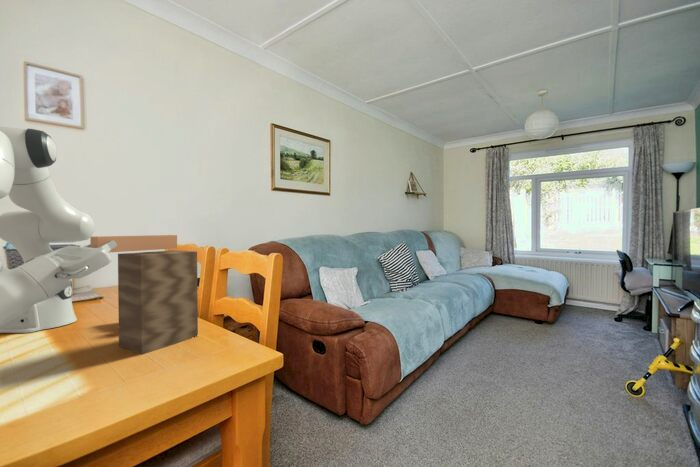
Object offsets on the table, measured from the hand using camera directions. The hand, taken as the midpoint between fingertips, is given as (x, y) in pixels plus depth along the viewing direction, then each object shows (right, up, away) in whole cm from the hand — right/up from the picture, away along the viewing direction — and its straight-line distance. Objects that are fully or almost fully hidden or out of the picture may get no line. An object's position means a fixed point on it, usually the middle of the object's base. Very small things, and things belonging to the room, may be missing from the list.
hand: (109, 242), depth 81 cm
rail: (+3, -2, +6) cm, 7 cm away
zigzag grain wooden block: (+6, -29, +11) cm, 32 cm away
